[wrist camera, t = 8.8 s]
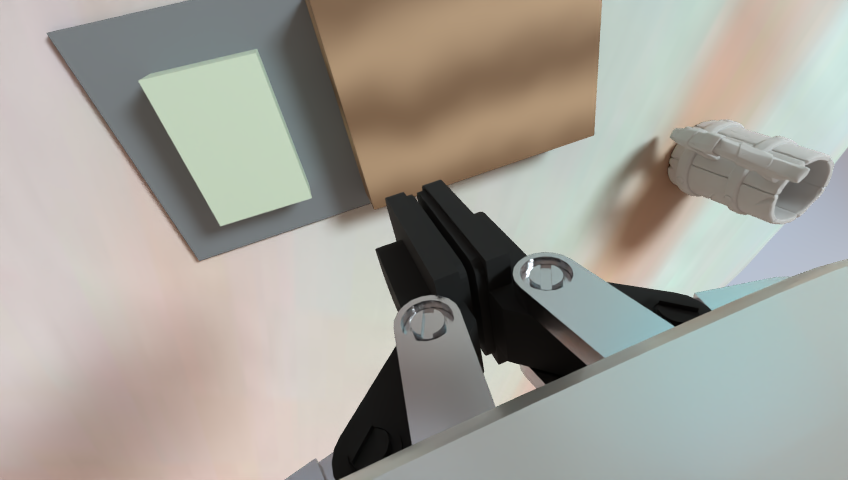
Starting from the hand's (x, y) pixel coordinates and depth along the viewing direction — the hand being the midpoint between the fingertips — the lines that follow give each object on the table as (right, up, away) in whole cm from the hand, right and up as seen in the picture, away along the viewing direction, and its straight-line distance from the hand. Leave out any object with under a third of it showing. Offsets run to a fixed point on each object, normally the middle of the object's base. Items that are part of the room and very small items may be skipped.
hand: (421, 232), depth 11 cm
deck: (+3, +12, +16) cm, 20 cm away
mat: (-11, +7, +14) cm, 19 cm away
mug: (+26, +9, +28) cm, 39 cm away
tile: (-11, +6, +13) cm, 18 cm away
